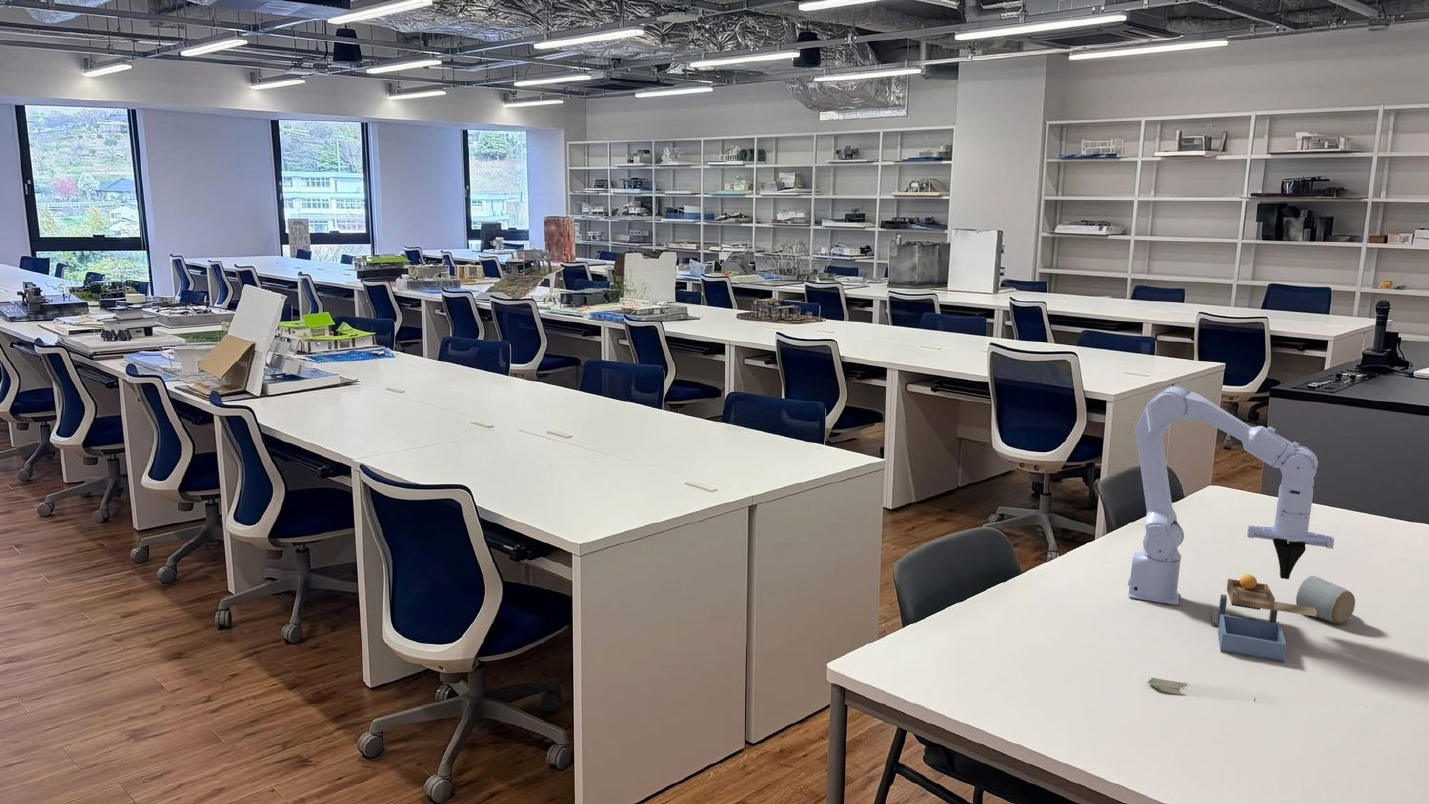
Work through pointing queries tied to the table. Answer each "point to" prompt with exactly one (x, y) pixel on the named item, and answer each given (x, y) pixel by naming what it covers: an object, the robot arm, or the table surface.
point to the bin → (1251, 638)
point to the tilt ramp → (1262, 599)
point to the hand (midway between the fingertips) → (1284, 577)
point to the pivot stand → (1222, 609)
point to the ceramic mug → (1326, 599)
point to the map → (1168, 685)
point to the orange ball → (1248, 581)
